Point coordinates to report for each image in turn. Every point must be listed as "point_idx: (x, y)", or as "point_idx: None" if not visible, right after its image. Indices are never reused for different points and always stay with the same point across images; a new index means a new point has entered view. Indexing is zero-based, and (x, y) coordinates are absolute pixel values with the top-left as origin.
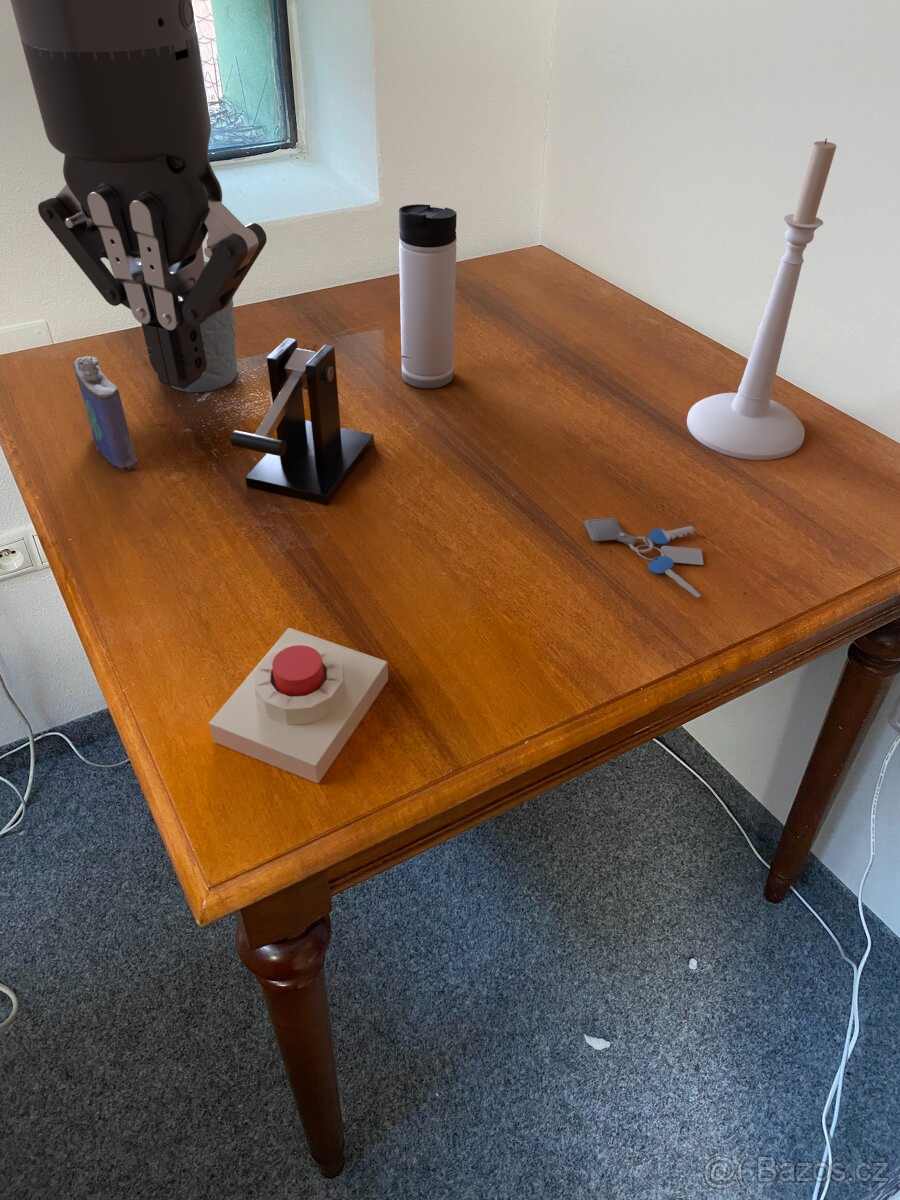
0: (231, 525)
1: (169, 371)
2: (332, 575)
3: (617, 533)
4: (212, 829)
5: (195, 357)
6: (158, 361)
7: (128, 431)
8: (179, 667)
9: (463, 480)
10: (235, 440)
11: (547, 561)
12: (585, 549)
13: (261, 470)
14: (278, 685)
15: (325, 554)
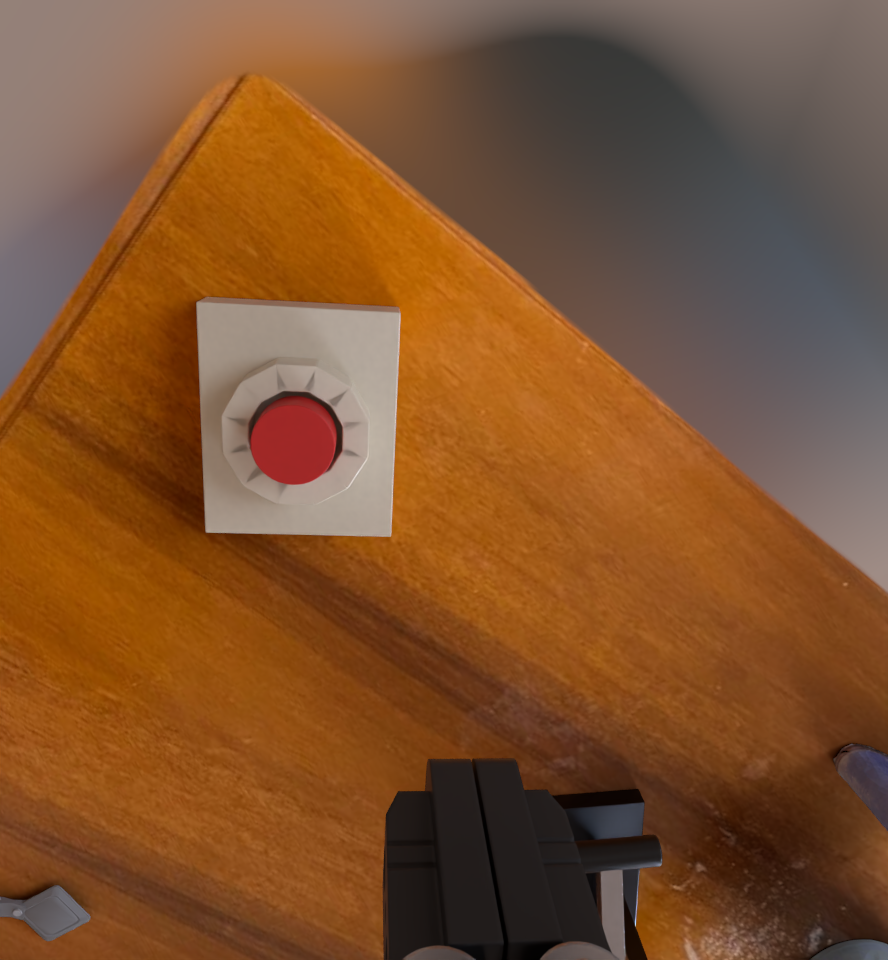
0: (616, 706)
1: (467, 796)
2: (407, 672)
3: (25, 912)
4: (308, 160)
5: (385, 881)
6: (510, 816)
7: (873, 813)
8: (530, 416)
9: (318, 928)
10: (648, 844)
11: (108, 822)
12: (66, 866)
13: (627, 825)
14: (311, 402)
15: (441, 707)
